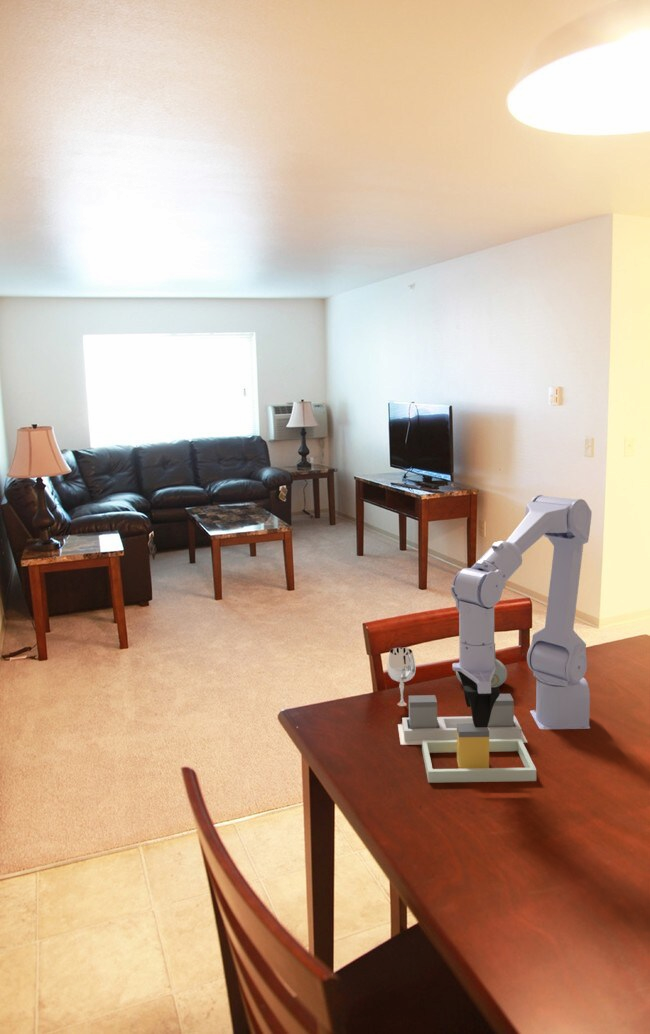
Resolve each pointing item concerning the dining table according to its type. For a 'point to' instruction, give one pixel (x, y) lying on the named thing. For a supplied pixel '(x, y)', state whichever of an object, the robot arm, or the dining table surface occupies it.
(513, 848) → the dining table surface
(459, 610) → the robot arm
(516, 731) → the fuse holder
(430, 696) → the block
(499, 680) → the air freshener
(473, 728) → the block
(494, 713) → the block
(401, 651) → the wineglass
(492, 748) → the tray
